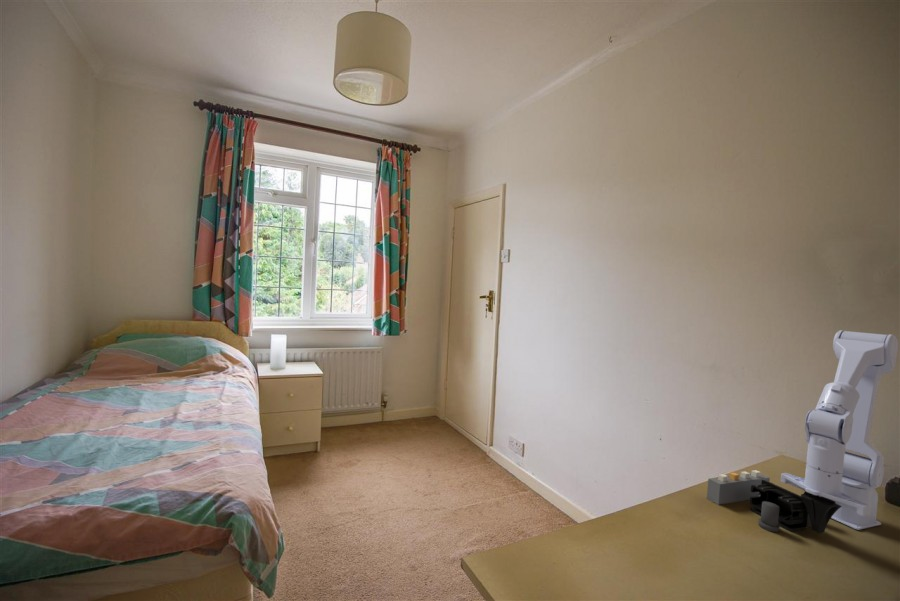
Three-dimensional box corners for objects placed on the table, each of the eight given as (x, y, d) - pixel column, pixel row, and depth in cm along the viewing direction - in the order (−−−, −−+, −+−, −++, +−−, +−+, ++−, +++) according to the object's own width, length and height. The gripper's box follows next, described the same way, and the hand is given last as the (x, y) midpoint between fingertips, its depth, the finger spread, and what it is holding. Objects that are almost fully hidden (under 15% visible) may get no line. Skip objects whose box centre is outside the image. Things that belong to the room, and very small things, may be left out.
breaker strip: (755, 491, 106) (757, 467, 106) (768, 496, 104) (770, 472, 103) (706, 498, 100) (708, 473, 100) (718, 504, 97) (720, 479, 97)
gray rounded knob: (765, 521, 91) (767, 499, 91) (783, 531, 88) (785, 508, 88) (754, 523, 90) (756, 501, 90) (772, 533, 86) (774, 510, 86)
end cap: (815, 529, 89) (818, 499, 89) (793, 533, 87) (796, 502, 87) (768, 505, 99) (770, 478, 99) (746, 508, 97) (749, 480, 96)
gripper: (774, 455, 91) (768, 514, 92) (857, 485, 78) (850, 555, 78) (794, 453, 94) (788, 510, 94) (877, 482, 80) (871, 549, 80)
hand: (818, 530), depth 86 cm, fingers closed
